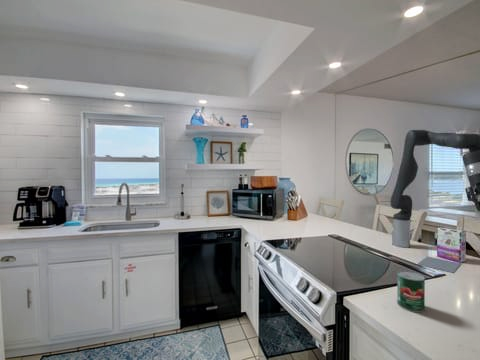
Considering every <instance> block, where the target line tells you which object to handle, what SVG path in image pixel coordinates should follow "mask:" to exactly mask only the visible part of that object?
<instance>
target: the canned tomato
mask: <svg viewBox="0 0 480 360" xmlns="http://www.w3.org/2000/svg"><path fill="white" fill-rule="evenodd" d="M396 274H397V278H396V279H397V280H396V281H397V285H396V286H397V289H396V291H397V295H396V296H397V297H396V299H397V301H396V302H397V303H396V304H397V305H398V306H399V307H400V308H402V309H404V310H406V311H408V312H412V313H423V312H425V311H426V310H425V308H426V307H425V305H426V304H425V301H426V299H425V297H426V296H425V293H426V292H425V291H426V290H425V288H426V286H425V285H426V283H425V282H426V280H425V279H426V278H425V276H424V275H422V274H420V273H417V272H414V271H410V270H399V271H397V273H396Z"/></svg>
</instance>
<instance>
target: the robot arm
mask: <svg viewBox="0 0 480 360" xmlns="http://www.w3.org/2000/svg"><path fill="white" fill-rule="evenodd" d="M426 145H436V146H438V147H443V148H444V147H446V148H452V149H458V150H468V151H469V152H466V153H464V154H463V155H462V161H463V165H464V168H465V173H466V176H467V179H468V182H469V186H467V187H465V188H464V190H465V193H466V198H467V201H468V202H473V204H474V206H475V209H476V210H477V212H480V134H479V133H456V132H433V131H430V130H426V129H410V130H408V132H407V133H406V134H405V138H404V145H403V152H402V153H403V154H402V157H401V162H400V166H399V170H398V175H397V178H396V183H395V185H394V189H393V190H392V194H391V198H390V206H391V208H392V209H395V210H400V211H398V212H396V213H394V214H393V216H392V218H393V224H392V225H393V226H392V230H391V245H392V246H395V247H399V248H410V247H411V218H412V215H413V214H412V212H413V199H412V197H411V195H408V194H404V192H405V190H406V189H407V188H408V187H409V186H410V185H411V184H412V183H413V182H414V180H415V179H416V177H417V174H418V169H419V164H418V163H417V160H416V158H415V155H414V152H415V147H417V146H418V147H420V146H421V147H422V146H426Z"/></svg>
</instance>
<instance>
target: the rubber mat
mask: <svg viewBox="0 0 480 360" xmlns="http://www.w3.org/2000/svg"><path fill="white" fill-rule="evenodd" d="M417 265H418V266H421V267H426V268H431V269H433V270H434V269H435V270H439V271H442V272H446V273H451V274H454V273H455V271H456V270H457V269H458V268H459V267H460V266H461V265H462V263H459V262H456V261H452V260H447V259H443V258H436V257H431V256H425V258H423V259H422V260H420V261H419V262H417Z"/></svg>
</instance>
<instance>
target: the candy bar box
mask: <svg viewBox="0 0 480 360" xmlns="http://www.w3.org/2000/svg"><path fill="white" fill-rule="evenodd" d="M436 232H437V233H436V237H437V238H436V241H437V242H436V245H437V247H436V257H438V258H440V259H444V260H447V261H451V262H456V263H460V264H462V263H465V262H466V261H467V260H466V259H467V255H466V254H467V250H466V244H467V242H466V240H467V237H466V236H467V232H466V230H461V229H455V228H454V229H453V228H447V227H437V229H436Z"/></svg>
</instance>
